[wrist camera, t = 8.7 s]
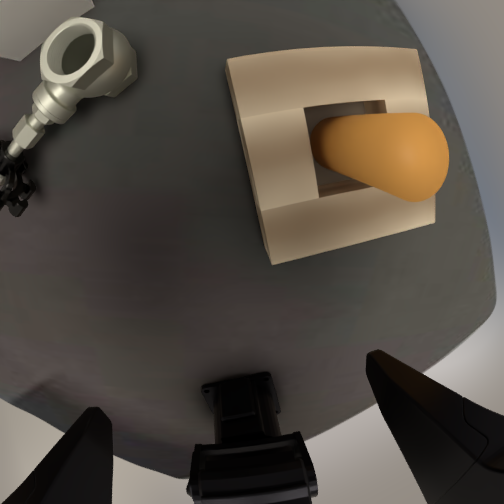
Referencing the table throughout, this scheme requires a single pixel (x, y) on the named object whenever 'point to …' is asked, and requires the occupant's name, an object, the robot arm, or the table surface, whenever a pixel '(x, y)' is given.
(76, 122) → the table surface
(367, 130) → the peg
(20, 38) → the corner bracket
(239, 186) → the table surface
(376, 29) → the table surface
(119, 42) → the valve
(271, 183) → the socket block
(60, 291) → the table surface
